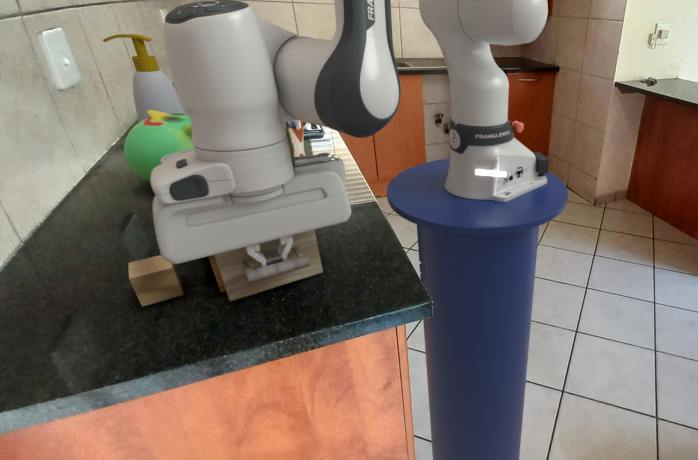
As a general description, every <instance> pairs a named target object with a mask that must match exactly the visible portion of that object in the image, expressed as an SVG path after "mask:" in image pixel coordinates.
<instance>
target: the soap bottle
mask: <svg viewBox="0 0 698 460" xmlns="http://www.w3.org/2000/svg"><path fill="white" fill-rule="evenodd" d="M123 38H125V39H130V38H131V41H132V44H133V47H134V50H135V53H136V55H134V56H131V60H132V63H133V65H134V68H135V71H134V74H133V79H132V94H133V99H134V105H135V110H136V114H137V115H136V116H137V120H138V123H139V122H141V121H142V120H145V119H147V118H149V117H150V116H149V114H148V113H147V111H148V110H155V111H160V112H163V113H167V114H173V113H181V114H185V115H188V114H187V113H186V111H185V109H184V108H183V107H182V105H181V103H180V101H179V99H178V95H177V92H176V89H175V86H174V83H172V81H171V79H169V77H168V76H167V75H166V74H165V72H163V71H162V70H161V69H160V67H159V64H158V60H157V58H156V55H149V52H148V50H147V47H146V44H145V42H147V43H150V42H151V41H152V37H149V36H147V35H142V34H138V33H137V34H136V33H119V34H117V33H116V34H114V35H110V36H108V37H105V38H103V39H102V41H103V43H107V42H109V41H111V40H114V39H123Z"/></svg>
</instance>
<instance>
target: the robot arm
mask: <svg viewBox="0 0 698 460" xmlns="http://www.w3.org/2000/svg"><path fill="white" fill-rule="evenodd" d="M333 2H334V15H335V32H334V33H333V36H332V38H331V39H323V38H316V37H315V38H314V37H311V36H305V35H298V34H297V33H296V32H292V31H290V30H287V29H286V28H283V27H280V26H279V25H277V24H274V23H272V22H271V21H269V20H267V19H266V18H265V17H263V16H261V15H260V14H259V13H257V12H256V11H255V9H254V8H253V7H252V6H251V5H250V4H249V3H246V2H243V1H241V0H202V1H195V2H190V3H186V4H182V5H179V6H177V7H175V8H173V9H172V10H170V11H169V12H168V13H167V14H166V15H165V17H164V21H163V29H162V30H163V32H162V33H163V42H164V49H165V54H166V58H167V63H168V67H169V71H170V76H171V78H172V82H173V86H174V87H175V89H176V92H177V95H178V99H179V101H180V103H181V105H182V107H183V108H184V109H185V111H186V113H187V114H188V116H189V118H190V121H191V125H192V143H193V146H194V149H195V150H194V151H192V152H189V153H187V154H185V155H183V156H180V157H178V158H175V159H173V160H171V161H168V162H166V163H163V164H161V165H159V166H157V167H155V168H154V169H153V170H152V173H151V177H150V182H149V183H150V186H151V189H152V192H153V194H154V197H153V199H152V202H151V203H152V204H151V210H152V221H153V228H154V232H155V238H156V242H157V246H158V249H159V253H160V255H161V256H162V258H163V259H164V260H166V261H168V262H170V263H172V264H175V265H179V264H184V263H187V262H191V261H196V260H199V259H203V258H207V257H208V256H211V255H215V254H219V253H223V252H227V251H231V250H235V249H239V248H243V247H245V249H246V251H247V253H248V254H249V255H250V256H251V257H253V258H254V259H255V260H257V261H258V262H259V263H260V266H261V267H264V266H268V265H271V264H275V263H278V262H282V261H286V260H287V256H286V255H288V253H289V251H290V249H291V246H292V244H293V238H292V235H295V234H299V233H303V232H307V231H311V230H315V231H316V230H319V229H322V228H326V227H331V226H333V225H334V226H335V225H339V224H343V223H346V222H348V221H349V218H350V217H351V216H352V212H353V211H352V206H351V203H350V199H349V195H348V192H347V189H346V187H345V184H344V182H345V180H346V177H347V176H346V175H347V174H346V168H345V163H344V161H343V160H342V159H341V158H340V157H339V156H337V155H334V154H331V152H320V153H317V154H312V155H311V154H310V155H309V154H308V155H306V156H299V157H293V158H291V153H290V149H289V144H288V139H287V134H286V130H285V124H286V122H288V121H290V120H295V119H296V120H299V121H302V122H303V123H306V124H311V125H315V126H320V127H324V128H325V127H326V128H328V129H331V130H333V131H336V132H339V133H342V134H345V135H348V136H351V137H354V138H358V139H363V138H365V139H366V138H368V137H369V138H370V137H372V136H374V135H376V134H377V133H379V132H380V131H381V130H383V129H384V128H385V127H386V126H387V125H388V124H389V123H390V122H391V121H392V119H393V118H394V116H395V115H396V114H397V111H398V109H399V106H400V102H401V96H402V95H401V81H400V75H399V74H400V73H399V70H398V65H397V62H396V61H397V60H396V55H395V49H394V40H393V24H392V23H393V22H392V3H391V0H333ZM548 6H549V4H548V0H418V9H419V14H420V18H421V20H422V22H423V24H424V25H425V27H426V28H427V29H428V30H429V32H431V34H432V35H433V36H434V39H435V40H436V41H437V44H438V46H439V48H440V51H441V54H442V57H443V59H444V63H445V66H446V69H447V75H448V81H449V93H450V94H449V95H450V96H449V98H450V118H449V120H448V139H449V147H450V154H449V155H450V156H449V158H450V164H449V170H448V175H447V179H446V183H445V189H446V190H447V191H448V192H450V193H451V194H453V195H456V196H458V197H462V198H467V199H476V200H493V201H498V202H507V201H509V200H511V199H514V198H516V197H518V196H520V195H523V194H525V193H527V192H529V191H531V190H534V189H536V188H538V187H540V186H543V185H545V184H547V178H546V177H545V176H544V175H545V174H546V173H548V172H549V167H550V158H548V157H546V156H545V155H544V154H543V153H541V152H540V151H531V149H529V148H528V147H527V146H525V145H524V144H523V143H521V141H519V140H518V139H517V138H516V137H515V134H514V132H516V133H522V132H523V130H524V129H525V124H524V123H523V122H521V121H518V120H514V121H512V120H510V119H509V97H510V96H509V91H510V82H509V79H508V76H507V74H506V73H505V72H504V70H503V69H501V68H500V67H499V65H498V64H497V63H496V60H495V59H494V57H493V54H492V51H491V46H490V45H496V46H503V47H510V46H511V47H512V46H520V45H525V44H530V43H532V42H535V41H536V40H537V39H538V38H539V36H540V35H541V34H542V32H543V30H544V28H545V27H546V24H547V19H548V14H549V7H548ZM275 239H278V240H279V241H280V245H279V248H278V250H277V251H276V252H272V253H269V254H265V255H263V254H262V253H261V252H260V247H259V243H263V242H267V241H271V240H275Z"/></svg>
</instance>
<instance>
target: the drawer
mask: <svg viewBox="0 0 698 460" xmlns="http://www.w3.org/2000/svg"><path fill="white" fill-rule="evenodd" d="M292 238H293V244H292V246H291V249H290V251H289V253H288V255H286V256H287V260H286V261H282V262H278V263H275V264H271V265H268V266H264V267H261V266H260V263H259V262H258V261H257V260H255V259H254V258H253V257H251V256H250V255H249V254H248V253H247V251H246V249H245V247H243V248H239V249H235V250H231V251H227V252H223V253H219V254H215V255H214V257H215V260H216V263H217V266H218V268H219V271H220V274H221V277H222V280H223V283H224V286H225V289H226V291H225V293H226V295H227V298H228V300H229V302H233V301H236V300H239V299H243V298H246V297H249V296H253V295H256V294H258V293H261V292H265V291H268V290H271V289H274V288H278V287H280V286H284V285H287V284H291V283H293V282H296V281H300V280H302V279H306V278H309V277H313V276H316V275H318V274H322V273H323V272H324V271H323V265H322V259H321V256H320V251H319V250H320V249H319V244H318V241H317V240H318V239H317V235H316V229H315V230H311V231H307V232H303V233H299V234H295V235H292ZM279 245H280V241H279V240H278V239H275V240H271V241H267V242H263V243H259V247H260V252H261V253H262V254H263V255H265V254H269V253H272V252H276V251H277V250H278V248H279Z"/></svg>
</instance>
